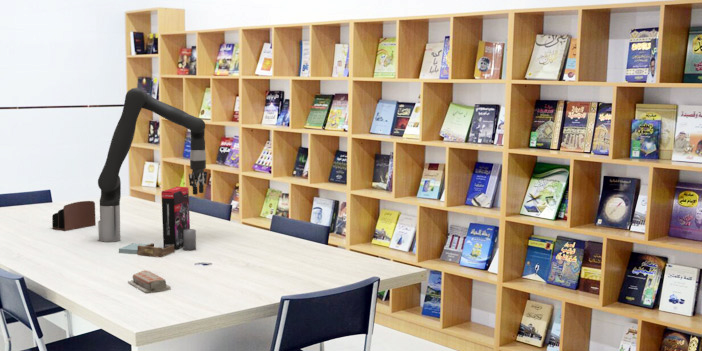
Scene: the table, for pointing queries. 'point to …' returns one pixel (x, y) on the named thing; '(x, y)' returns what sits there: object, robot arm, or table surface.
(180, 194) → the graphics card box
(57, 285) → the table surface
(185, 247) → the grey rounded capsule
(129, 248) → the light blue rectangular block
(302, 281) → the table surface
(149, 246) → the brown wooden angled bracket
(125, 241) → the table surface
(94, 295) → the table surface
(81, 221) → the letter holder
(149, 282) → the packaged product
